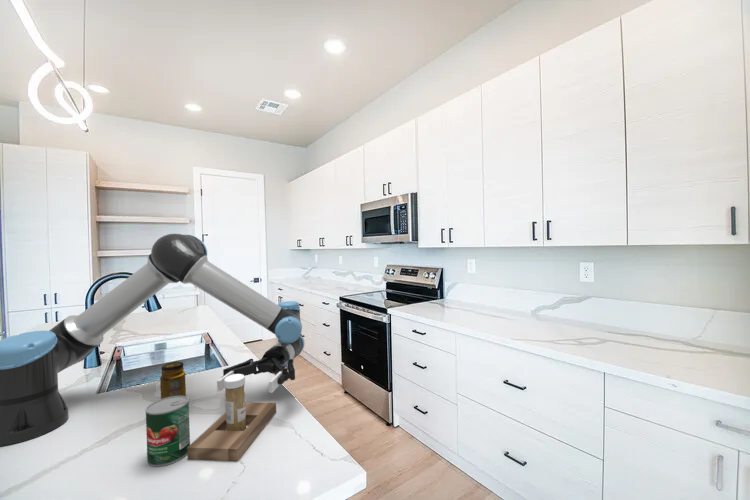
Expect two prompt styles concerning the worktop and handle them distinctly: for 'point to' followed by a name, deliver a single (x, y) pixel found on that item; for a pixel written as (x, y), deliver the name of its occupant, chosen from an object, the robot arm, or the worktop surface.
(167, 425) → the canned tomato
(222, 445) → the hole board
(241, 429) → the sprinkles bottle
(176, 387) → the condiment
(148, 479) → the worktop surface
